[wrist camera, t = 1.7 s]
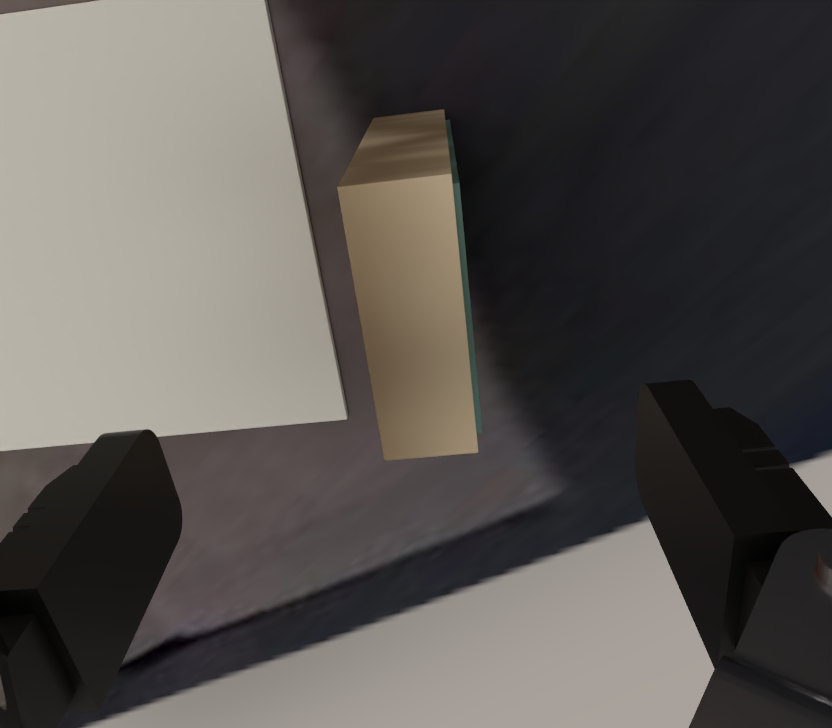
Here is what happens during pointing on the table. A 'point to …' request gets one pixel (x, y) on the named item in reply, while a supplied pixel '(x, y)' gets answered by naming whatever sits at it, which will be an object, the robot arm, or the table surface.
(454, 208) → the slab
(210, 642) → the table surface
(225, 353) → the mat
